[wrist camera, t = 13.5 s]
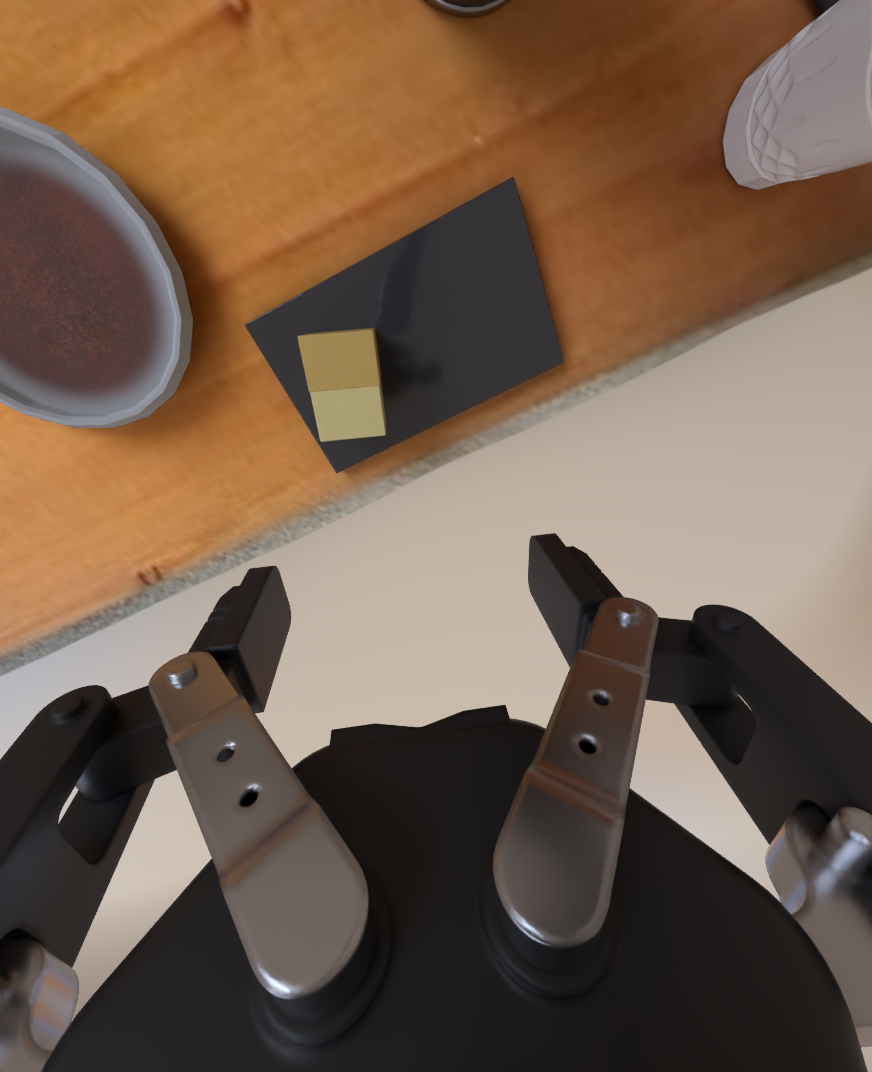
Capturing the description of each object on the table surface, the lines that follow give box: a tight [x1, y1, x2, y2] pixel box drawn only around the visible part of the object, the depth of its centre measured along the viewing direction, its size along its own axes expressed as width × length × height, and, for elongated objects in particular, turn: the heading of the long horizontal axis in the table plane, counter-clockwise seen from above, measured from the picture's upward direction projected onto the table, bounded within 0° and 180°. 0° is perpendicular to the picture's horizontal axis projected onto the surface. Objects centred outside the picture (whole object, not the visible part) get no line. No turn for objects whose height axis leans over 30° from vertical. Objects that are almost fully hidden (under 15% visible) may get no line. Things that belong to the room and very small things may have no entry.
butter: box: [298, 328, 386, 442], centre depth 28 cm, size 4×6×5 cm
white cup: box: [723, 0, 872, 190], centre depth 23 cm, size 8×8×10 cm
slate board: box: [245, 177, 564, 473], centre depth 30 cm, size 20×12×1 cm, turn 114°
